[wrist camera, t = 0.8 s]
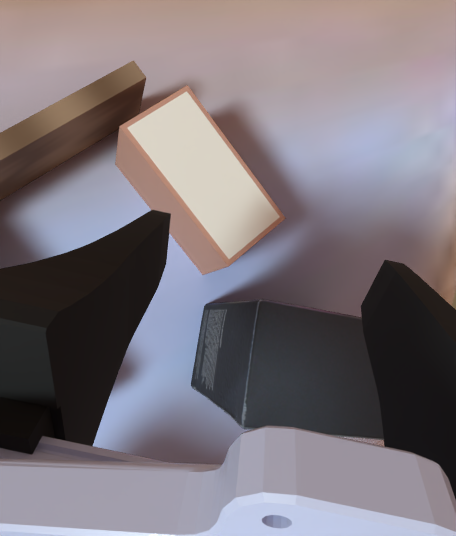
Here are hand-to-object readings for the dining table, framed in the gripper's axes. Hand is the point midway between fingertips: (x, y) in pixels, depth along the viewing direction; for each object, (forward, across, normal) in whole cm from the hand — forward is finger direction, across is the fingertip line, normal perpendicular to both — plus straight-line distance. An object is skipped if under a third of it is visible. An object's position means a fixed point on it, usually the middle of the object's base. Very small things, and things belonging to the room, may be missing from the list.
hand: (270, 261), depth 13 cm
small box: (+10, -3, +15) cm, 18 cm away
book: (+15, +5, +6) cm, 17 cm away
